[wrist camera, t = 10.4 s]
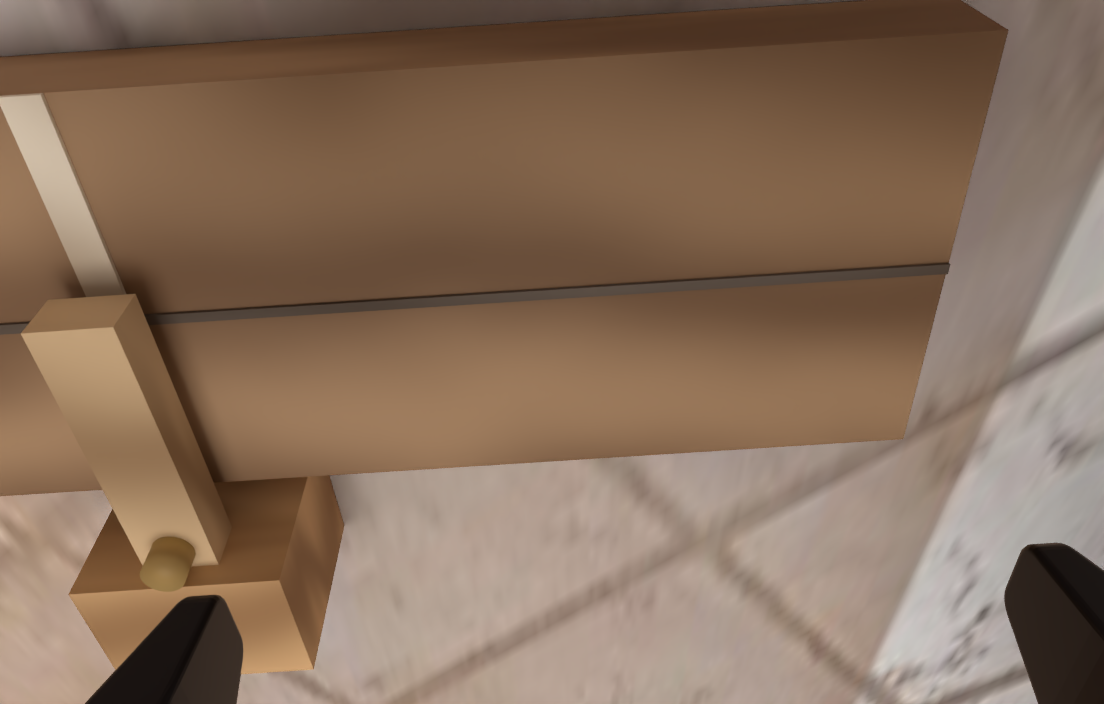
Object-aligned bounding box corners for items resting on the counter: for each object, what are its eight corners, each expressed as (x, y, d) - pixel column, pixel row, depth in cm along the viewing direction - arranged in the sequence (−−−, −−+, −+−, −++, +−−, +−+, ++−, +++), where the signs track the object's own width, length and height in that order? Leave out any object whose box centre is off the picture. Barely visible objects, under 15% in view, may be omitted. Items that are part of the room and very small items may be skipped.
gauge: (344, 524, 26) (311, 676, 22) (183, 535, 26) (120, 688, 22) (252, 215, 20) (182, 346, 16) (40, 230, 20) (-86, 364, 16)
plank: (869, 377, 23) (904, 441, 21) (-72, 437, 24) (-129, 507, 21) (951, -5, 17) (1010, 31, 15) (-309, 77, 18) (-420, 124, 16)
